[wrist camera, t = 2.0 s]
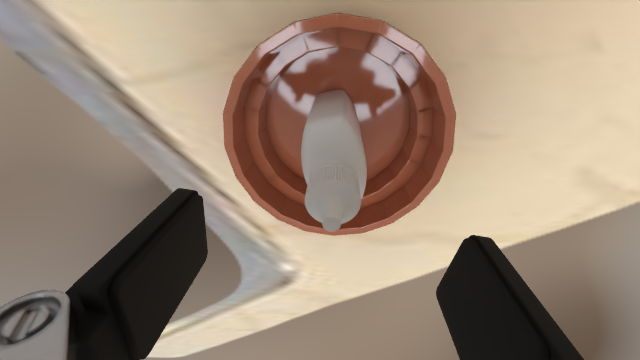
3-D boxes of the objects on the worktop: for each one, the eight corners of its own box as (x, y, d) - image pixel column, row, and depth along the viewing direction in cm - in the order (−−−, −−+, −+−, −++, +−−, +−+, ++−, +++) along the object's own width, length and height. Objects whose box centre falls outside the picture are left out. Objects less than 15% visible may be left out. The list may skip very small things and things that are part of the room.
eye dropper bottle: (377, 100, 19) (420, 180, 9) (350, 164, 22) (357, 285, 11) (320, 80, 19) (294, 140, 8) (300, 149, 21) (261, 259, 11)
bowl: (248, 2, 17) (217, -8, 13) (461, 38, 17) (502, 40, 13) (248, 185, 24) (227, 218, 20) (397, 209, 24) (410, 248, 20)
